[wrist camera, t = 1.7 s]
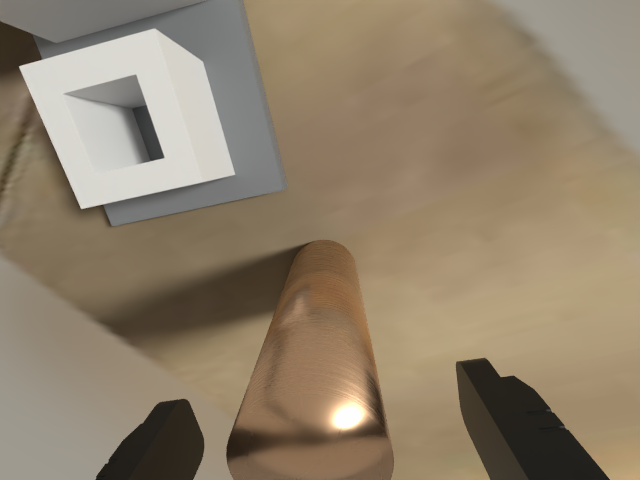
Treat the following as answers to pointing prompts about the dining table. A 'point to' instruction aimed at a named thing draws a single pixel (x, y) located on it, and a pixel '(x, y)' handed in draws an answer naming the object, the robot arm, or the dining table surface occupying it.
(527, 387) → the robot arm
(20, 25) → the socket plate
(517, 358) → the dining table surface
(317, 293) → the copper pipe
